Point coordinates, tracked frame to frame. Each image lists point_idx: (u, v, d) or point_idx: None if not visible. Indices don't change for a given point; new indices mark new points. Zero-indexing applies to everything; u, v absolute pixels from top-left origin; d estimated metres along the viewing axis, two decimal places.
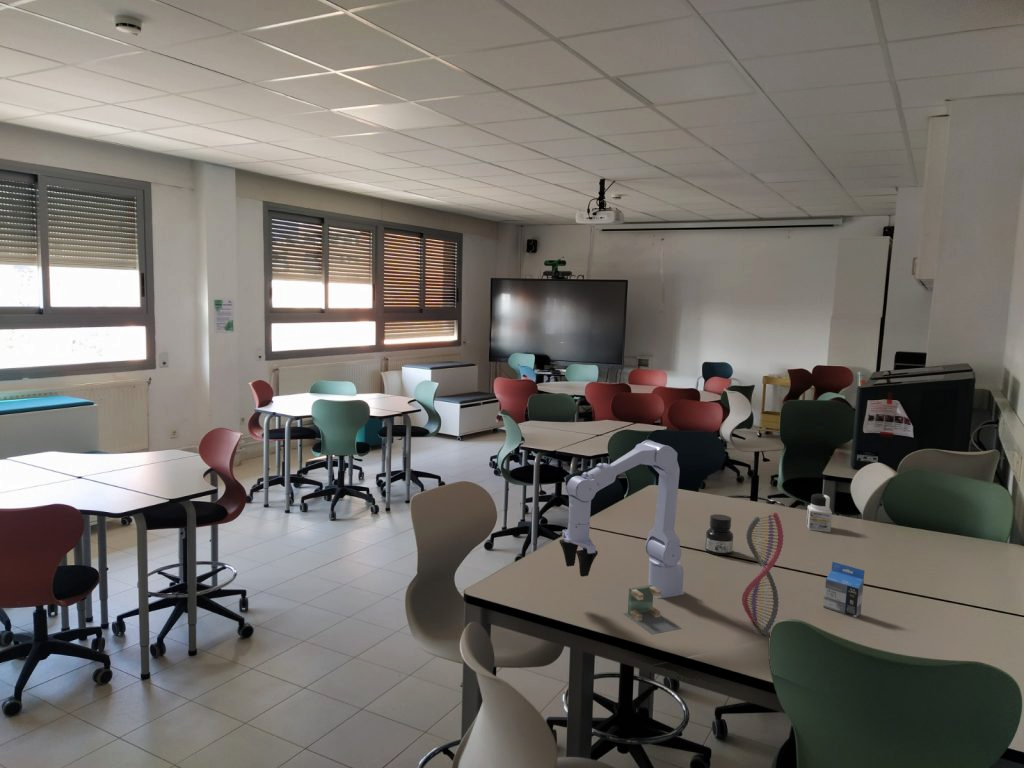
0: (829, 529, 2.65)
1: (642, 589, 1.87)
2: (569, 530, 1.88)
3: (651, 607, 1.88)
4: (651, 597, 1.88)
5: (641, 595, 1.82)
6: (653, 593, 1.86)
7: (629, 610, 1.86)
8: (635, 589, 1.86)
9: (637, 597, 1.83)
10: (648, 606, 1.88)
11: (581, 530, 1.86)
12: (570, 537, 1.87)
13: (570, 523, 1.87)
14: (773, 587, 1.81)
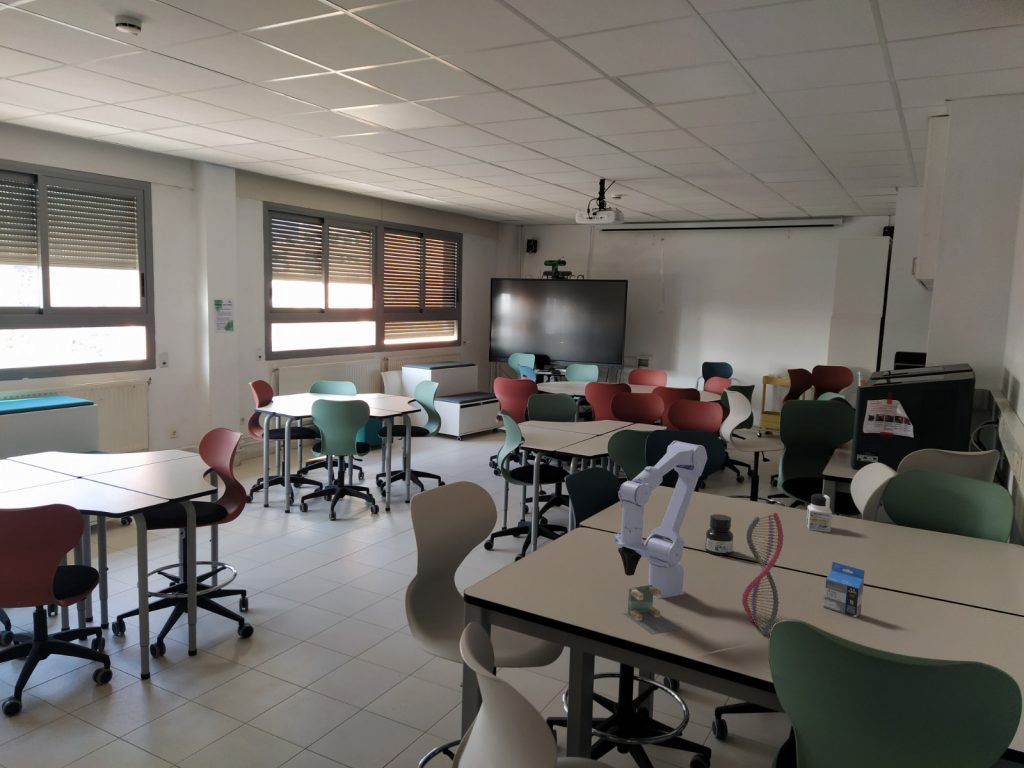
0: (829, 529, 2.65)
1: (642, 589, 1.87)
2: (622, 534, 1.90)
3: (651, 607, 1.88)
4: (651, 597, 1.88)
5: (641, 595, 1.82)
6: (653, 593, 1.86)
7: (629, 610, 1.86)
8: (635, 589, 1.86)
9: (637, 597, 1.83)
10: (648, 606, 1.88)
11: (635, 534, 1.88)
12: (623, 541, 1.89)
13: (623, 527, 1.89)
14: (773, 587, 1.81)
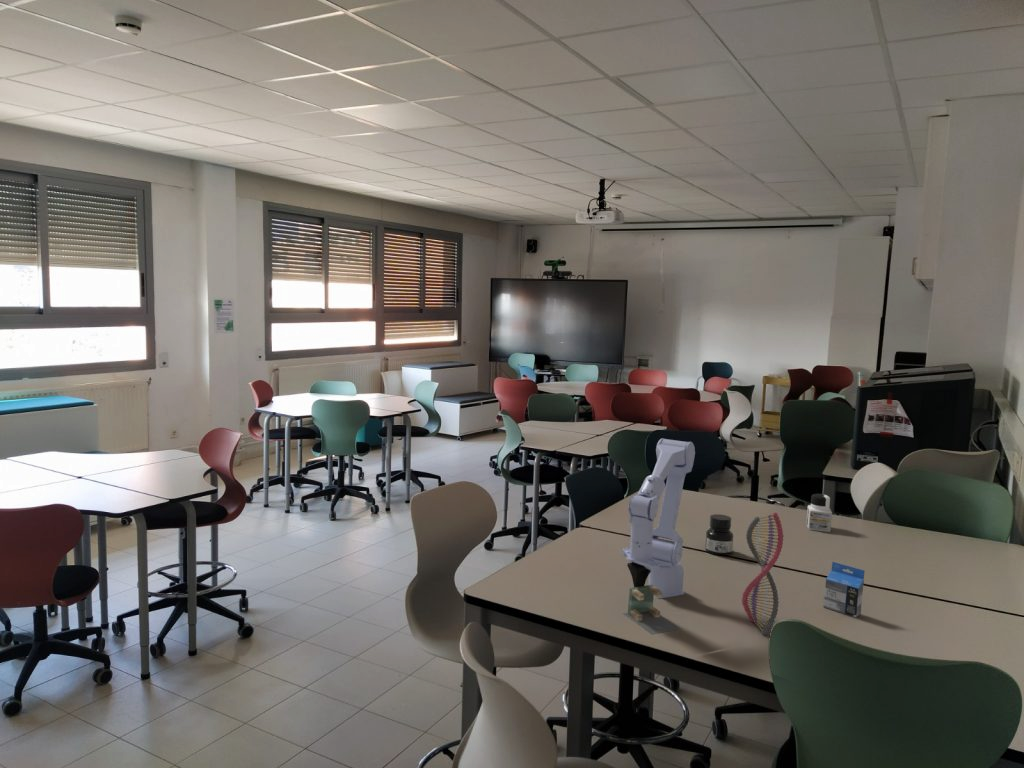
0: (829, 529, 2.65)
1: (643, 589, 1.86)
2: (631, 549, 1.86)
3: (651, 607, 1.88)
4: (651, 597, 1.88)
5: (642, 595, 1.82)
6: (654, 593, 1.86)
7: (629, 609, 1.86)
8: (636, 589, 1.85)
9: (638, 597, 1.83)
10: (648, 606, 1.88)
11: (644, 549, 1.84)
12: (632, 556, 1.86)
13: (633, 542, 1.85)
14: (773, 587, 1.81)
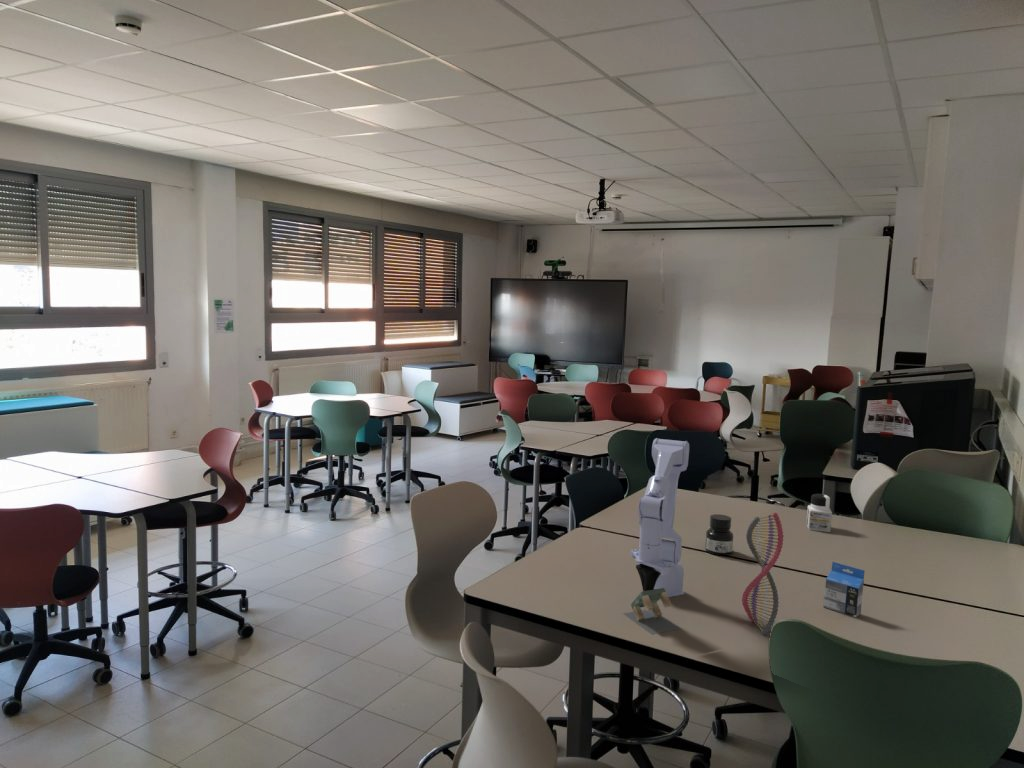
0: (829, 529, 2.65)
1: (654, 594, 1.82)
2: (640, 551, 1.82)
3: (655, 604, 1.86)
4: (659, 597, 1.85)
5: (651, 608, 1.79)
6: (663, 601, 1.82)
7: (633, 605, 1.84)
8: (647, 595, 1.81)
9: (646, 607, 1.79)
10: (653, 602, 1.86)
11: (654, 551, 1.80)
12: (642, 558, 1.82)
13: (642, 544, 1.82)
14: (773, 587, 1.81)
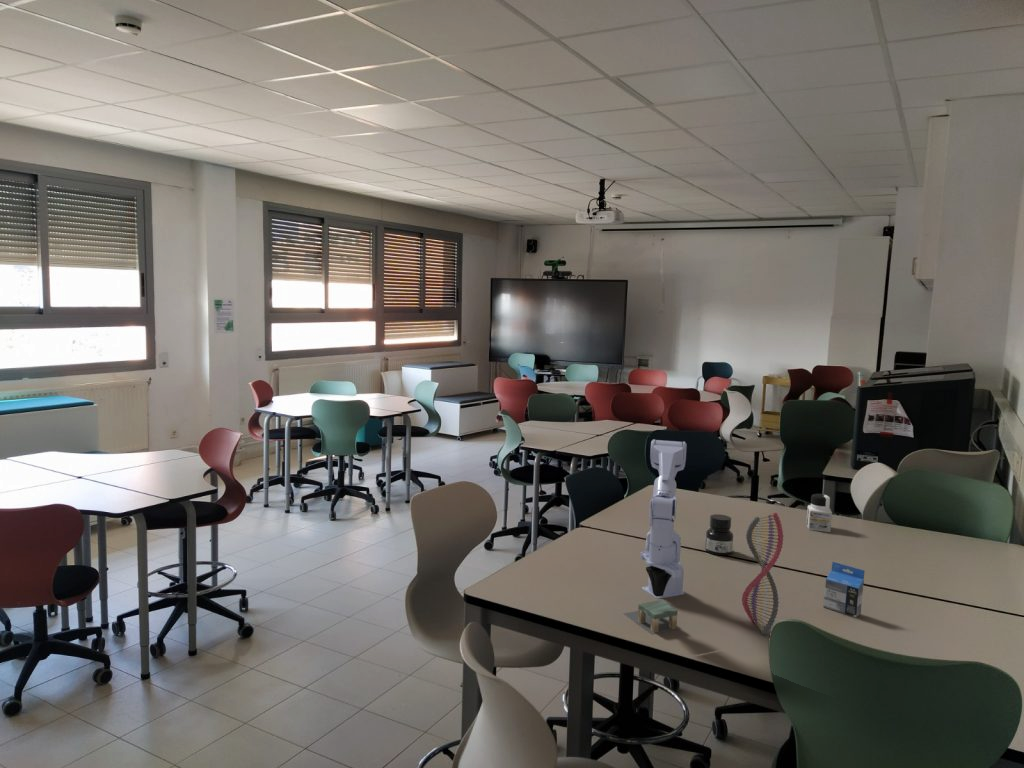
0: (829, 529, 2.65)
1: None
2: (651, 553, 1.78)
3: None
4: None
5: None
6: (669, 622, 1.80)
7: (641, 608, 1.81)
8: (658, 618, 1.77)
9: (651, 628, 1.77)
10: None
11: (664, 553, 1.76)
12: (652, 560, 1.78)
13: (652, 545, 1.78)
14: (773, 587, 1.81)
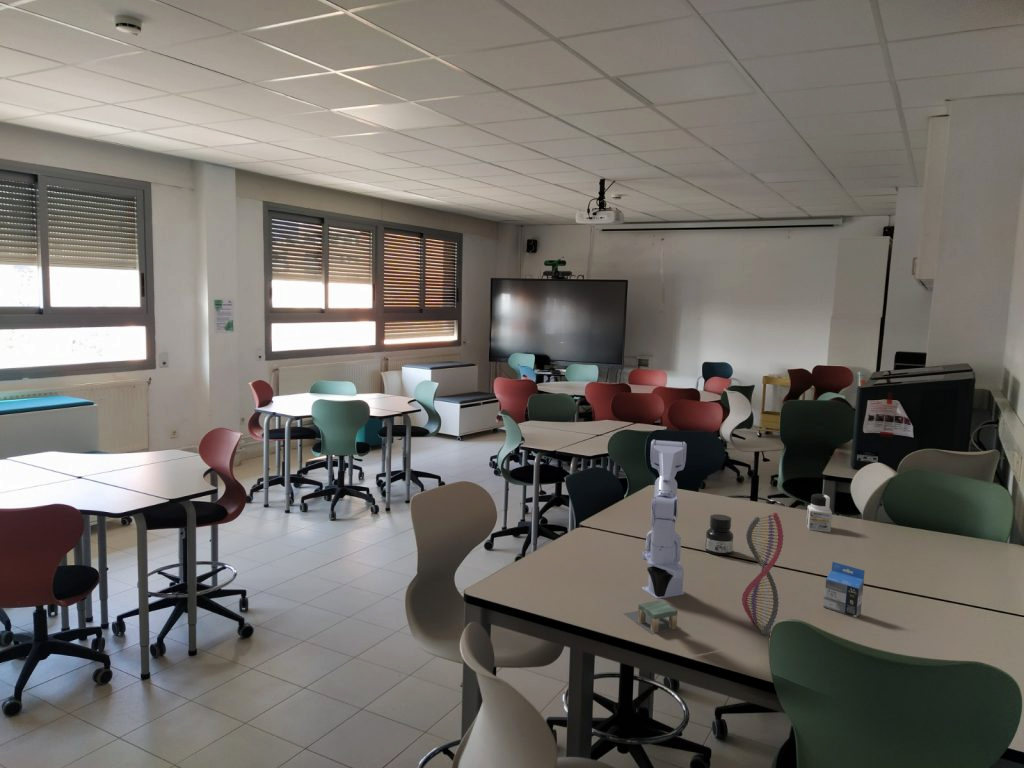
0: (829, 529, 2.65)
1: None
2: (652, 553, 1.78)
3: None
4: None
5: None
6: (669, 622, 1.80)
7: (641, 608, 1.81)
8: (658, 618, 1.77)
9: (651, 628, 1.77)
10: None
11: (666, 553, 1.76)
12: (653, 560, 1.77)
13: (654, 546, 1.77)
14: (773, 587, 1.81)
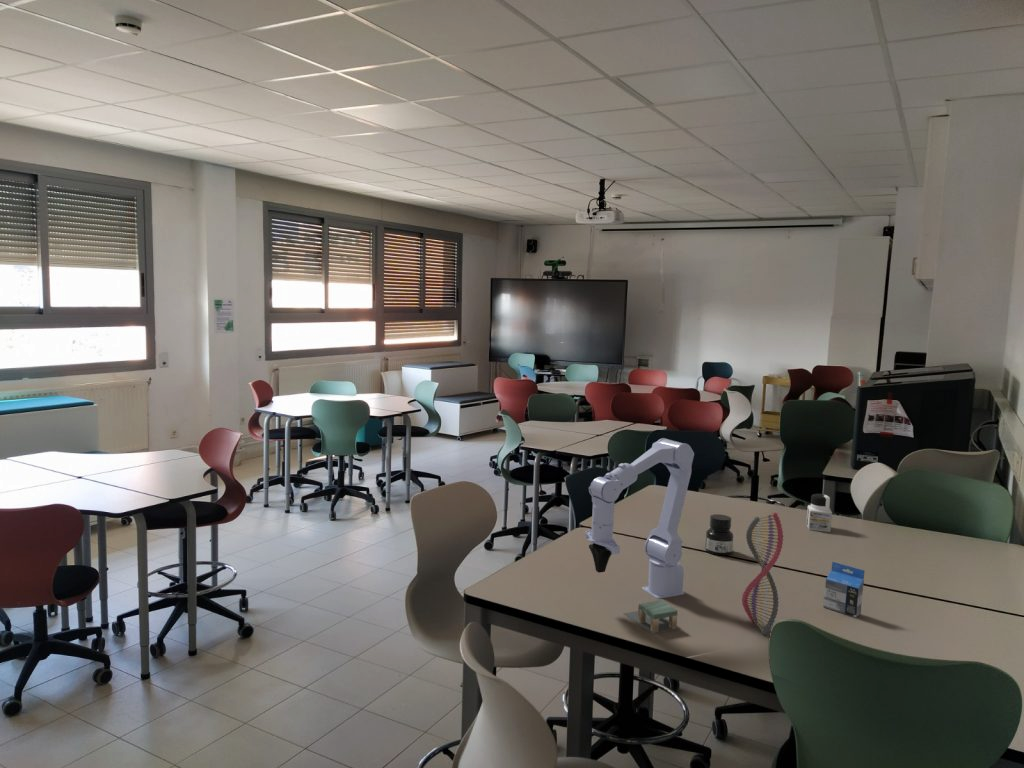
0: (829, 529, 2.65)
1: None
2: (593, 531, 1.88)
3: None
4: None
5: None
6: (669, 622, 1.80)
7: (641, 608, 1.81)
8: (658, 618, 1.77)
9: (651, 628, 1.77)
10: None
11: (605, 530, 1.87)
12: (594, 538, 1.88)
13: (594, 524, 1.88)
14: (773, 587, 1.81)
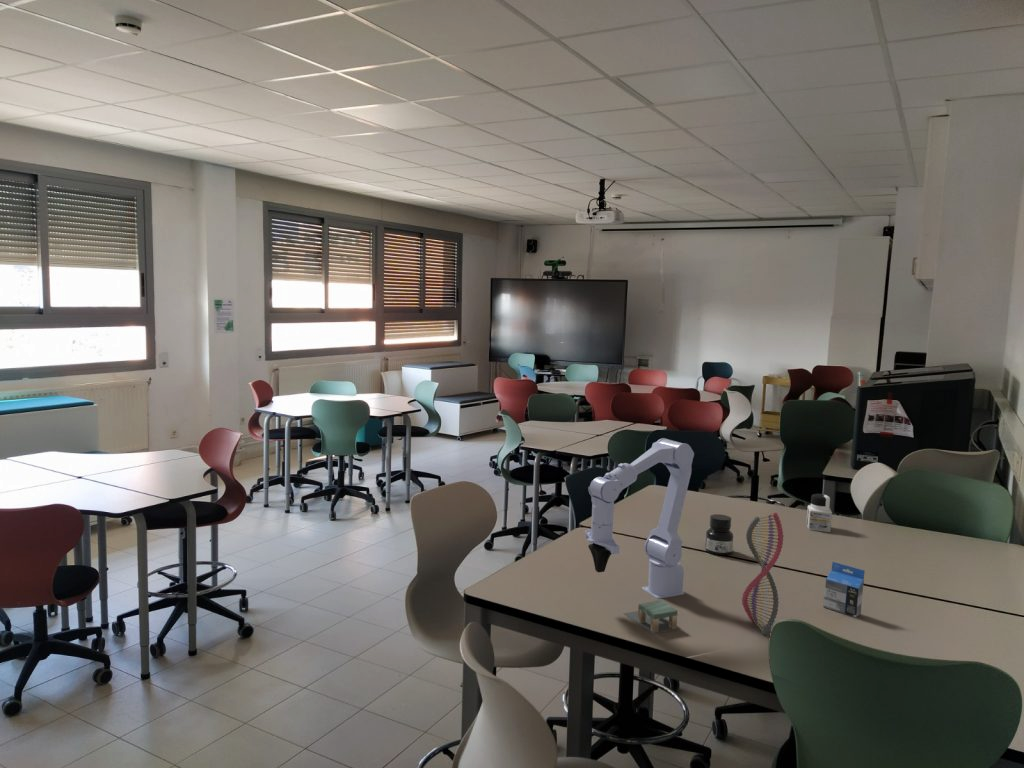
0: (829, 529, 2.65)
1: None
2: (592, 531, 1.89)
3: None
4: None
5: None
6: (669, 622, 1.80)
7: (641, 608, 1.81)
8: (658, 618, 1.77)
9: (651, 628, 1.77)
10: None
11: (605, 530, 1.87)
12: (593, 538, 1.88)
13: (593, 524, 1.88)
14: (773, 587, 1.81)
